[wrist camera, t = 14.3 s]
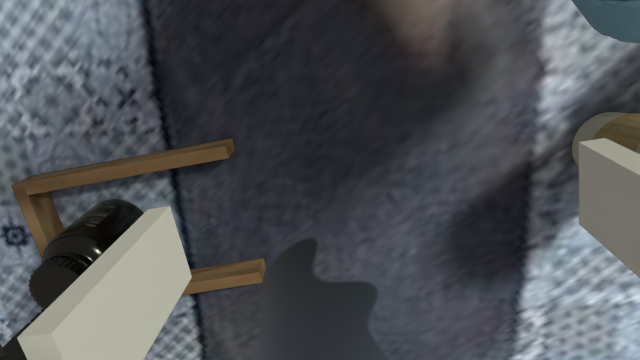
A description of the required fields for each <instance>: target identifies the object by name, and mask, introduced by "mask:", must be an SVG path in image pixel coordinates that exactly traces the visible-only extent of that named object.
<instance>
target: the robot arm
mask: <svg viewBox="0 0 640 360" xmlns="http://www.w3.org/2000/svg"><path fill="white" fill-rule="evenodd" d="M572 1H573V3H574V4H575V5H576V7H577V8H578V9H579V11H580V12H581V13H582V15H583V16H584V17H585V19H586V20H587V21H588V23H589V24H590V25H591V26H592V27H593V28H594V29H595V30H596V31H598V32H599V33H601V34H603V35H606V36H610V37H612V38H613V39H617V40H619V41H623V42H631V43H640V0H572ZM579 224H580V225H581V226H582V227H583V228H584V229H585V230H587V231H588V232H589V233H590V234H591V235H592V236H593V237H594V238H596V239H597V240H598V241H599V242H600V243H601V244H602V245H603V246H604V247H606V248H607V249H608V250H609V251H610V252H611V253H612V254H613V255H615V256H616V257H617V258H618V259H619V260H620V261H621V262H622V263H624V264H625V265H626V266H627V267H628V268H629V269H630V270H631V271H633V272H634V273H635V274H636V275H637V276H638V277H639V278H640V154H638V153H636V152H634V151H632V150H630V149H627V148H625V147H623V146H621V145H619V144H617V143H615V142H613V141H610V140H608V139H606V138H602V139H596V140H589V141H583V142H579ZM191 278H192V276H191V273H190V269H189V266H188V263H187V260H186V256H185V253H184V250H183V247H182V244H181V240H180V237H179V234H178V231H177V227H176V224H175V221H174V218H173V215H172V211H171V208H170V206H166V207H160V208H153V209H148V210H147V211H146V212H145V213H144V214H143V215H142V216H141V217H140V218H139V219H138V220H137V221H136V222H135V223H134V224H133V225H132V226H131V227H130V228H129V229H128V230H127V231H126V232H125V233H124V234H123V235H121V236H120V237H119V238H118V239H117V240H116V241H115V242H114V243H113V244H112V245H111V246H110V247H109V248H108V249H107V250H106V251H105V252H104V253H103V254H102V255H101V256H100V257H99V258H98V259H97V260H96V261H95V262H94V263H93V264H92V265H91V266H90V267H89V268H88V269H87V270H86V271H85V272H84V273H83V274H82V275H81V276H80V277H79V278H78V279H76V280H75V281H74V282H73V283H72V284H71V285H70V286H69V287H68V288H67V289H66V290H65V291H64V292H63V293H61V294H60V295H58V296H56V297H55V298H54V299H52V300H51V301H50V302H49V303H48V304H47V305H46V306H45V307H44V308H43V309H42V310H41V313H38V314H37V315H36V316H35V317H34V318H33V319H32V320H31V323H28V324H27V325H26V326H25V327H23V328H22V329H21V330H20V331H19V332H18V333H17V334H16V335H15V336H14V337H13V338H12V339H11V340H10V341H9V342H8V343H7V344H6V345H5V346H4V347H3V348H2V346H1V344H0V360H143V359H144V358H145V356H146V354H147V353H148V351H149V349H150V347H151V346H152V344H153V342H154V341H155V339H156V337H157V336H158V334H159V332H160V330H161V329H162V327H163V325H164V324H165V322H166V320H167V319H168V317H169V315H170V313H171V312H172V310H173V308H174V307H175V305H176V303H177V302H178V300H179V298H180V297H181V295H182V293H183V291H184V290H185V288H186V286H187V285H188V283H189V281H190V280H191Z"/></svg>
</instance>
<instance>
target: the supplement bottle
mask: <svg viewBox="0 0 640 360" xmlns="http://www.w3.org/2000/svg"><path fill="white" fill-rule="evenodd" d="M143 214H144V213H143V212H142V211H141V210H140V209H139V208H138V207H136V206H135V205H133V204H131V203H129V202H127V201H123V200H117V199H112V200H106V201H103V202H100V203H98V204H97V205H95V206H94V207H92V208H91V209H90V210H89V211H87V212H86V213H85V214H84V215H82V216H81V217H80V218H79V219H77V220H76V221H75V222H74V223H72V224H71V225H70V226H68V227H67V228H66V229H65V230H63V231H62V232H61V233H60V234H58V235H57V236H56V237H55V238H54V239H53V240H51V241H50V242H49V244H48V245H47V246H46V248H45V250H44V252H43V256H42V264H41V265H40V266H39V267H38V268H37V269H36V270H35V271H34V272H33V274H32V275H31V279H30V280H29V282H30V284H29V287H30V292H31V296H32V297H33V298H34V300H35V301H36V302H37V304H38V305H40V306H41V307H42V308H44V307H45V306H46V305H47V304H48V303H49V302H50V301H51V300H52V299H54V298H55V297H56V296H58V295H60V294H61V293H63V292H64V291H65V290H66V289H67V288H68V287H69V286H70V285H71V284H72V283H73V282H74V281H75V280H76V279H78V278H79V277H80V276H81V275H82V274H83V273H84V272H85V271H86V270H87V269H88V268H89V267H90V266H91V265H92V264H93V263H94V262H95V261H96V260H97V259H98V258H99V257H100V256H101V255H102V254H103V253H104V252H105V251H106V250H107V249H108V248H109V247H110V246H111V245H112V244H113V243H114V242H115V241H116V240H117V239H118V238H119V237H120V236H121V235H123V234H124V233H125V232H126V231H127V230H128V229H129V228H130V227H131V226H132V225H133V224H134V223H135V222H136V221H137V220H138V219H139V218H140V217H141V216H142V215H143Z"/></svg>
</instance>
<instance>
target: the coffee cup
mask: <svg viewBox="0 0 640 360" xmlns="http://www.w3.org/2000/svg"><path fill="white" fill-rule="evenodd" d="M602 138H606V139H608V140H610V141H613V142H615V143H617V144H619V145H621V146H623V147H625V148H627V149H630V150H632V151H634V152H636V153H638V154H640V113H631V114H628V113H619V112H605V113H601V114H598V115H595V116H594V117H592V118H590V119H589V120H587V121H586V122H585V123H584V124H583V125H582V126H581V127H580V128H579V130H578V131H577V133H576V134H575V137H574V139H573V144H572V154H573V158H574V160H575V162H576V164H577V165H578V166H579V142H583V141H589V140H596V139H602Z"/></svg>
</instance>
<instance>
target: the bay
mask: <svg viewBox="0 0 640 360" xmlns="http://www.w3.org/2000/svg"><path fill="white" fill-rule="evenodd" d="M234 151H235V146H234V143H233V139H232V138H230V139H225V140H220V141H214V142H209V143H204V144H198V145H193V146H188V147H182V148H177V149H172V150H167V151H161V152H156V153H151V154H145V155H140V156H135V157H129V158H124V159H119V160H113V161H108V162H103V163H97V164H92V165H87V166H81V167H76V168H71V169H65V170H60V171H55V172H50V173H44V174H39V175H34V176H30V177H28V178H26V179H24V180H22V181H20V182H18V183H16V184H14V185H12V189H13V191H14V193H15V196H16V198H17V200H18V203H19V205H20V207H21V210H22V212H23V215H24V217H25V219H26V222H27V224H28V226H29V229H30V231H31V233H32V236H33V238H34V241H35V243H36V245H37V248H38V250H39V252H40V255H41V257H42V256H43V252H44V250H45V248H46V246H47V245H48V244H49V242H50V241H51V240H53V239H54V238H55V237H56V236H57V235H58V234H60V233H61V232H62V231H63V230H64V228H63V226H62V223H61V221H60V218H59V216H58V213H57V211H56V208H55V206H54V203H53V201H52V198H51V196H50V193H49V191H53V190H58V189H64V188H69V187H75V186H80V185H86V184H91V183H96V182H102V181H107V180H113V179H118V178H124V177H129V176H134V175H140V174H145V173H151V172H156V171H162V170H167V169H172V168H178V167H183V166H189V165H194V164H200V163H205V162H210V161H216V160H221V159H227V158H229V157H230V156H231V155H232V153H233V152H234ZM265 270H266V266H265V262H264V258H259V259H253V260H247V261H241V262H235V263H229V264H223V265H217V266H210V267H204V268H198V269H192V270H190V273H191V276H192V278H191V280H190V281H189V283H188V285H187V286H186V288H185V290H184V291H183V293H182V295H186V294H192V293H199V292H205V291H211V290H218V289H224V288H230V287H236V286H243V285H249V284H255V283H262V280H263V277H264V273H265Z"/></svg>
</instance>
